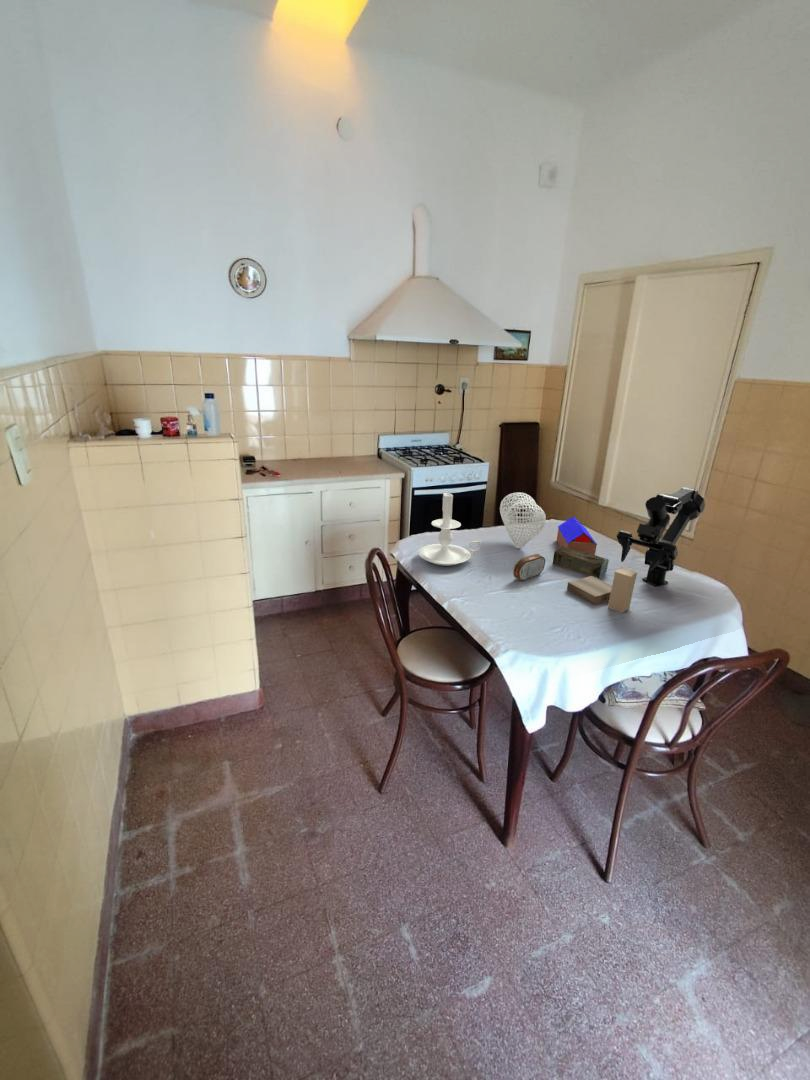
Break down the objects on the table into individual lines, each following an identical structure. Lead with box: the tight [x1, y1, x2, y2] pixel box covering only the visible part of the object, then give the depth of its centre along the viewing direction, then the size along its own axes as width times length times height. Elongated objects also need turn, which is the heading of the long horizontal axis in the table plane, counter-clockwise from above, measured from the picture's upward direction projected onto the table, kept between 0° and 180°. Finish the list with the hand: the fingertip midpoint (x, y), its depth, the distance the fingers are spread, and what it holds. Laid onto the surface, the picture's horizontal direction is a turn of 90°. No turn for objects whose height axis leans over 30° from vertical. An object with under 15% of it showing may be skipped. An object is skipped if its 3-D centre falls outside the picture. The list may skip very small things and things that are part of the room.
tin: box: [512, 553, 546, 581], centre depth 181 cm, size 15×3×8 cm, turn 126°
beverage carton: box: [552, 546, 610, 580], centre depth 190 cm, size 8×19×7 cm, turn 50°
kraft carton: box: [607, 567, 638, 613], centre depth 160 cm, size 5×5×13 cm
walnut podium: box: [566, 576, 612, 606], centre depth 171 cm, size 12×12×3 cm
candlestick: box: [417, 492, 483, 567], centre depth 190 cm, size 21×25×28 cm
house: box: [556, 516, 598, 555], centre depth 207 cm, size 12×20×12 cm, turn 175°
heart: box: [499, 492, 547, 549], centre depth 205 cm, size 28×16×22 cm, turn 0°
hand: (635, 565), depth 162 cm, fingers open, 9 cm apart
